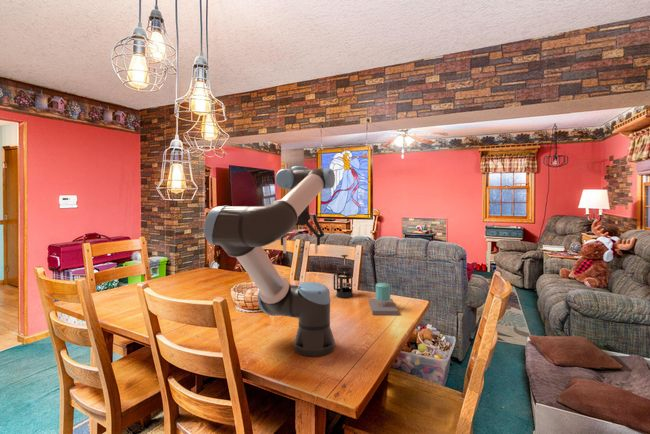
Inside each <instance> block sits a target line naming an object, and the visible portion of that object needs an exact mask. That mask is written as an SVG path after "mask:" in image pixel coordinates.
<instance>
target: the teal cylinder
mask: <svg viewBox="0 0 650 434" xmlns="http://www.w3.org/2000/svg"><path fill="white" fill-rule="evenodd" d="M375 299H377V300H380V301H388V300H390V299H391V284H390V283H388V282H377V283H375Z"/></svg>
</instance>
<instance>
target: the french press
mask: <svg viewBox="0 0 650 434" xmlns="http://www.w3.org/2000/svg"><path fill="white" fill-rule="evenodd" d="M340 257H343V259H344V260H343V264H337V265H336V270H337V272H339V273H334V274H333V290H334V291H336V294H335V296H336V298H338V299H351V298H353V297H354V294H353V293H354V292H353V273H351V272H350V273H349V272H348V271H350V270H352V268H353V267H354V266H353V265H352V264H346V261H345V260H346V258H347V257H349V255H348V254H342V255H340Z"/></svg>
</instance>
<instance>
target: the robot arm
mask: <svg viewBox="0 0 650 434" xmlns="http://www.w3.org/2000/svg"><path fill="white" fill-rule="evenodd" d="M335 176H336V175H335V171H334V170H333V169H332V168H327V167H326V168H324V167H321V168H308V167H307V166H304V165H303V166H302V165H294V166H292V167H291V168H290V169H289V168H282V169H279V170H278V171H277V173H276V174H275V184H276V185H277V186H278V187H279V188H281V189H284V190H290V191H289V192H288V193H287V194H285V195H284V196H283V197H282V198H281V199H277V200H274V201H273V202H271V203H270V204H268V205H267V204H266V205H259V206H258V205H254V206H253V205H252V206H251V205H249V206H248V205H243V206H242V205H239V206H238V205H234V206H231V205H228V204H226V205H220V206H219V205H218V206H214V207H213V208H212V209H210V210H209V212H208V213H207V215H206V216H205V219H204V223H203V224H204V225H203V234H204V239H206V242H207V243H208V244H211V245H212V246H220V247H221V248H222V249H223V250H224V252H225V253H226V254H227V255H228V256H229V257H232V258H236V260H237V261H238V262H239V264H240V265H241V266H242V267H243V269H244V270H245V272H246V274H247V275H248V276H249V277H250V279H251V280H252V282H253V283H254V285H255V286H256V288H257V289H258V290H259V291H258V293H257V301H258V303H257V304H258V307H259V309H260V310H261V311H262V312H263V313H265V314H268V315H270V316H279V317H280V316H281V317H287V318H295V319H298V327H297V331H296V334H295V337H294V342H293V349H294V351H295V352H296V353H297V354H299V355H302V356H304V357H311V358H312V357H322V356H326V355H329V354H331V353H332V352H333V351H334V350H335V348H336V345H335V344H336V340H335V338H334V333H333V331H332V328H331V297H330V296H331V295H330V289H329V288H328V286H326V285H325V284H322V283H320V282H315V281H303V282H300V283H299V284H298V285H294V284H290V282H289V280H288V279H287V278H286V277H285V276H283V275H280V273H279V272H278V270H277V268H276V267H275V266H274V264H273V262H272V261H271V259H270V258H269V256H268V254H267V252H266V251H265V249H264V247H265V246H268V245H271V244H272V243H275V242H277V241H278V240H280V245H281V246H283V247H282V252H283V254H286V253H287V237H286V236H287V234H288V233H289V232H290V231H292V229H293V228H294V227H296V226H306V227H307V228H308V229H309V230H310V231H311V232H312V233H313V235H314V236H315V238H314V254H316V255H317V254H318V250H319V248H318V246H320V245H321V238H323V237H324V236H325V233H324V230H323V229H322V227H321V224H320V223H319V221H318V217H317V214H310V204H311V203H312V201H314V199H316V197H317V196H318V195H319V194H320V193H321V192H322V191H323V190H324V189H326V190H327V189H332V188H334V186H335V183H336V177H335ZM310 219H311V220H312V221H313V222H314V225H315V226H316V229H317V230H316V229H315V228H314V226H313V225H312V224H311V222H310ZM318 232H319V233H318Z"/></svg>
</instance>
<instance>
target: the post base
mask: <svg viewBox="0 0 650 434" xmlns="http://www.w3.org/2000/svg"><path fill="white" fill-rule="evenodd" d="M368 304H369V307H370V311H371V315H373V316H399V309H398V307H397V306H396V303H395V302H394V299H393V298H390V300H388V301H380V300H377V299H376V298H369V299H368Z"/></svg>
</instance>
